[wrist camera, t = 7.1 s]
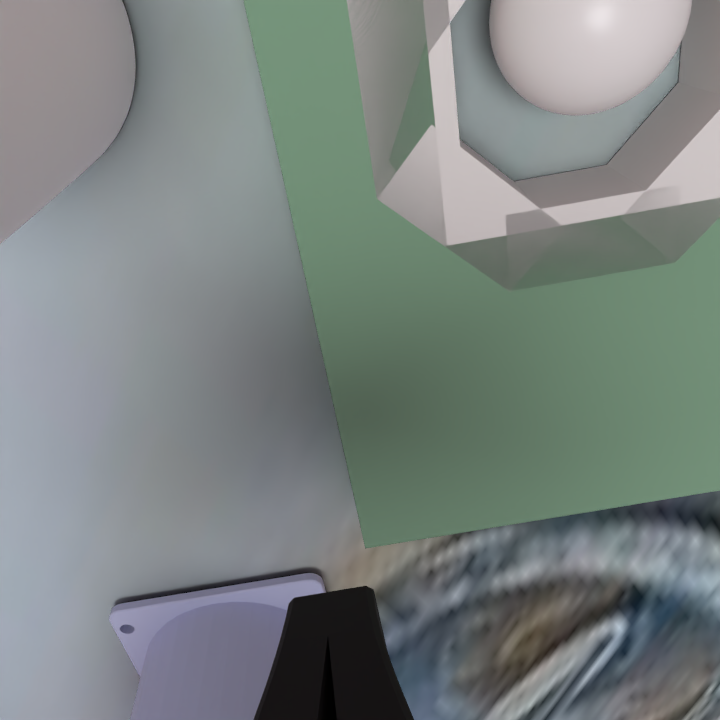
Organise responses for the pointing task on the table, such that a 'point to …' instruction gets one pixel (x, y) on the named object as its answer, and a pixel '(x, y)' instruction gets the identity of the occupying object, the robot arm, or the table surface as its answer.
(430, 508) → the putting mat
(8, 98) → the can
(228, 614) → the robot arm
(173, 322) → the table surface
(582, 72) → the ball
